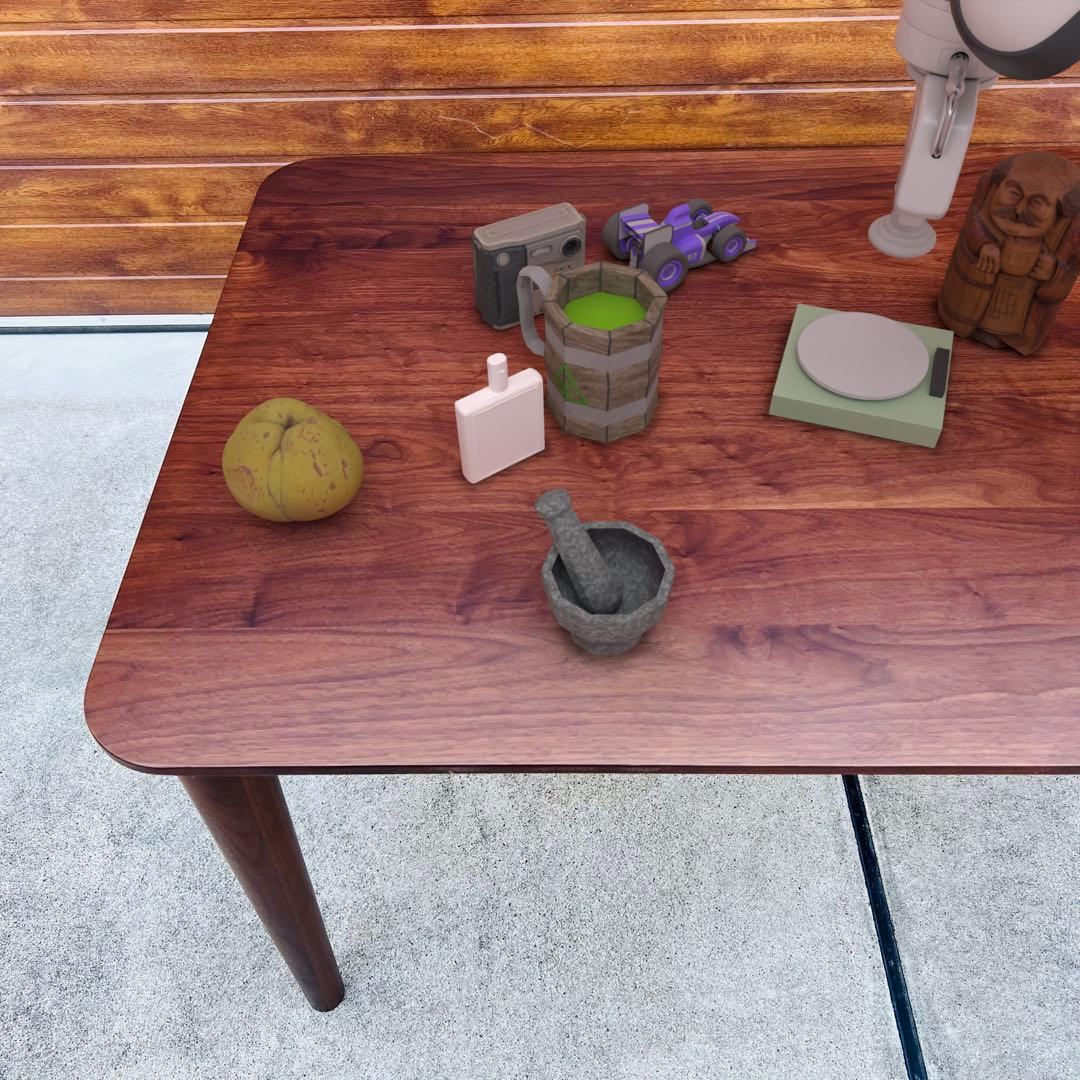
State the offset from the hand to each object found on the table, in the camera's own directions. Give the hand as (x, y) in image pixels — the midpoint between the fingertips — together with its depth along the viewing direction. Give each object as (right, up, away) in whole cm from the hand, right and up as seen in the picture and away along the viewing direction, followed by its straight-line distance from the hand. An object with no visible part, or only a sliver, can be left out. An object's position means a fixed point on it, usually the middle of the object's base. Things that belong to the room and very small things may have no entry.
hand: (912, 204), depth 79 cm
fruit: (-50, -23, +9) cm, 56 cm away
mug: (-25, -12, +17) cm, 33 cm away
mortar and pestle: (-25, -33, +1) cm, 41 cm away
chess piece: (0, -2, +3) cm, 4 cm away
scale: (+1, -11, +17) cm, 21 cm away
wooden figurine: (+16, -5, +22) cm, 27 cm away
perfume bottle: (-33, -19, +12) cm, 40 cm away
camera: (-30, -2, +26) cm, 40 cm away
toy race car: (-14, +5, +31) cm, 34 cm away
